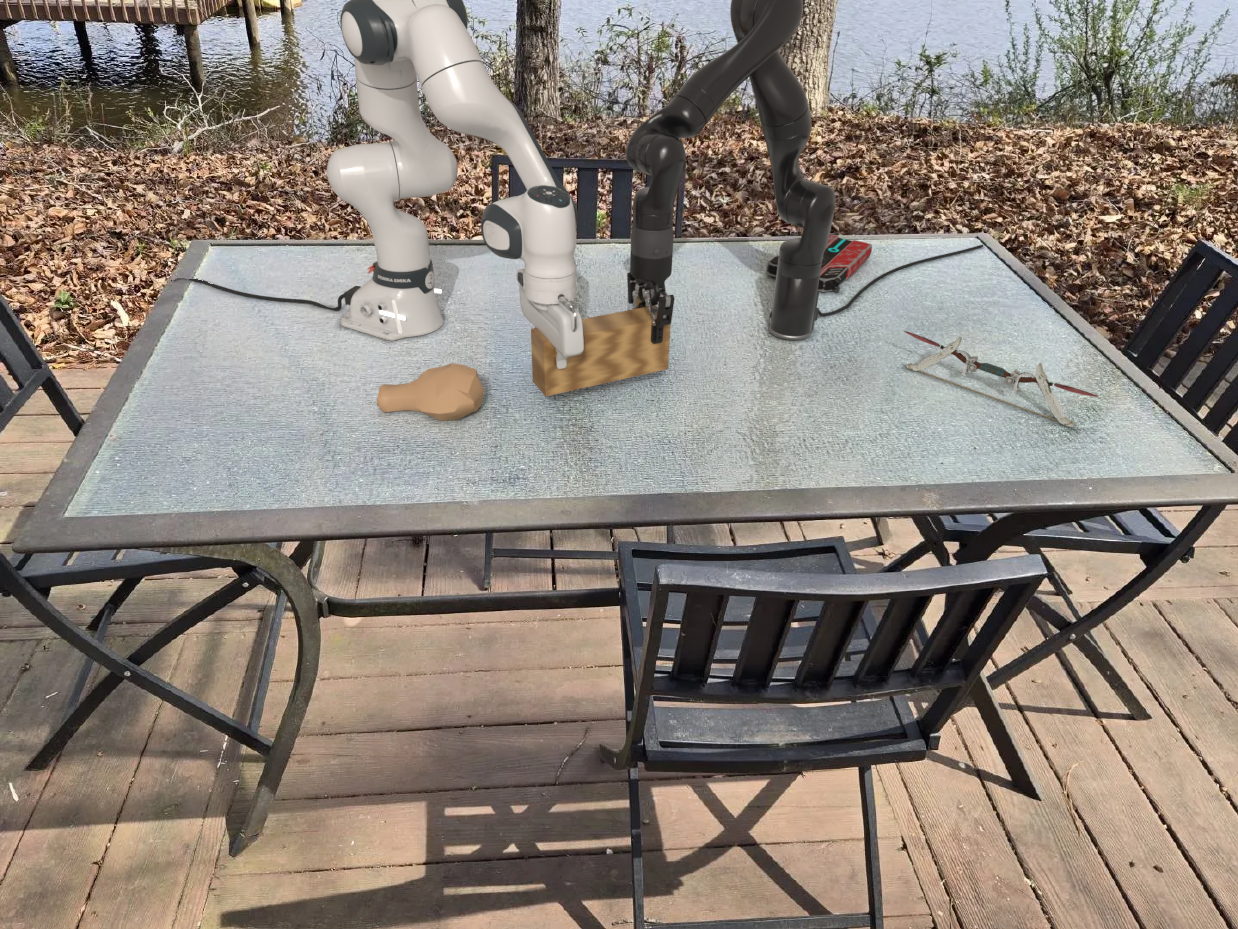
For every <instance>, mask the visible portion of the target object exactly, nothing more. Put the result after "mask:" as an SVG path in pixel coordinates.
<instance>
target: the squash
mask: <svg viewBox="0 0 1238 929" xmlns="http://www.w3.org/2000/svg"><path fill="white" fill-rule="evenodd" d="M484 394H485V388H484V386H483V384H482V382H481V381H480V378H479V373H478V370H477V369H476V368H473V367H470V366H467V365H464V364H459V363H455V362H452V363H449V364H446V365H442V366H439V367H432V368H431V367H430V368H428V369H426V370H424V371H423V372H422V373H421V374H420V375H419V376H418V378H416V379H414V380H412V381H410V382H407V383H399V384H382V385H379V387H378V393H377V397H376V406H377V407H378V408H379V409H380V410H381V411H382V413H389V412H400V411H414V412H419V413H422V414H425V415H426V416H428V417H430V418H433V419H435V420H437V421H440V422H446V421H458V420H459V421H460V420H461V419H463V418H465V417H467V416H469V415H471V414H473V413H475V412H477V411H478V410H479V409H480V408H481V406H482V405H483V400H484Z"/></svg>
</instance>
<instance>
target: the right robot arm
mask: <svg viewBox="0 0 1238 929" xmlns="http://www.w3.org/2000/svg"><path fill="white" fill-rule="evenodd" d="M729 8H730V9H729V12H730V13H729V15H730V24H731V28H732V31H733V34H734V37H735V40H736V44H734V46H732V47H731V48H730V49H728V50H726V51H725V52H724V53H722V54H720V55H719V56H717V57H715V58H714V59H712V60H711V61H709V62H708V63H706V64H704V65H703V66H701V67H699V68H698V69H697V70H696V71H695V72H694V73H693V74H692V75H691V76H690V77H688V79H687V80H686V81H685V82H684V84H683V85H682V86H681V87H680V89H679V90H678V91H677V92H676V93H675V95H674V96H673V97H672V99H671V100H670V102H669V103H668V104H666V105H665V106H664V107H663V108H660V109H659V110H658V111H657V112H655V113H654V114H653V115H651V116H650V117H648V119H646V120H645V121H644V122H643V123H641V124H640V125H639V126H638V127H637V128H636V129H635V130H634V131H633V133H632V134H631V136H630V137H629V139H628V141H627V143H626V148H625V159H626V162H627V164H628V165H629V167H630V168H631V169H632V170H634V171H636V172H638V173H641V174H644V175H647V176H651V180H650V185H649V186H647V187H642V188H639V189H638V190H637V191H635V194H634V197H633V204H632V206H633V207H632V227H631V234H630V253H629V254H630V258H629V272H627V273H626V280H627V283H626V284H627V301H628V302H627V303H628V305H629V304H630V305H631V304H632V306H631V307H632V309H637V308H643V307H646V308H647V312H648V313H649V314H650V317H651V322H652V325H651V342H652V343H653V344H657V343H661V342H662V341H663V328H664V325H669V324H671V325H672V320H673V314H674V305H675V296H674V294H668V293H667V291H666V284H665V283H666V280H668V278H670V277H671V276H672V271H673V254H674V210H675V209H674V208H675V200H676V197H677V196H678V192H679V189H680V185H681V182H682V178H683V175H684V173H685V169H686V166H687V165H686V164H687V153H686V148H685V146H684V144H683V141H682V140H681V139H688V138H689V139H690V138H694V137H696V136H697V135H699V134H700V133H701V132H702V130H704V128H705V127H706V125H707V124H708V123H709V121H710V120H712V118H713V117H714V115H715V114H716V113H717V112H718V110H719V109H720V107H722V105H724V103H725V102H726V100H727V99H728V98H729V97H730V96H731V95H732V94H733V93H734V92H735V91H736V90H737V89H738V88H739V87H740V86H741V85H742V84H743V83H744V82H745V81H746V80H747V79H749V81H750V84H751V88H752V92H753V96H754V99H755V103H756V107H757V113H758V117H759V122H760V125H761V131H762V133H763V137H764V142H765V144H766V149H767V154H768V159H769V163H770V167H771V174H772V183H773V190H774V199H775V205H776V210H777V213H778V215H779V217H780V219H781V220H782V221H783V222H785V223H787V224H789V225H792V226H795V227H799V228H802V232H801V236H800V237H798V238H797V237H796V238H790V239H787V240H785V241H783V242H782V243H781V244H780V247H779V253H778V255H779V259H778V266H777V274H776V277H775V282H774V291H773V298H772V305H771V311H770V313H769V320H770V321H769V326H768V332H769V333H770V334H771V335H772V336H774V337H776V338H778V339H781V340H786V341H802V340H806V339H808V338H810V337H811V335H812V332H813V331H814V328H815V322H816V321H818V317H819V316H820V317H828V316H832V315H836V314H838V313H840V312H842V311H845V310H847V309H848V308H850V307H851V306H852V304H853V303H854V302H855V300H856V299H857V298H859V297H860V296H861V294H863V293H864V292H865V291H866V290H867V289H869V287H871V286H872V285H873V284H875V283H877V282H878V281H879V280H881V279H883V278H885V277H886V276H888V275H891V274H893V273H896V272H897V271H901V270H903V269H906V268H909V267H912V266H915V265H918V264H922V263H926V262H930V261H934V260H938V259H942V258H946V257H950V256H955V255H960V254H964V253H966V252H972V251H974V250H975V251H976V250H978V249H981V248H984V244H979V245H975V246H972V247H969V248H965V249H961V250H957V251H953V252H949V253H944V254H939V255H935V256H932V257H927V258H923V259H919V260H916V261H912V262H909V263H906V264H904V265H903V264H902V265H900V266H897V267H895V268H893V269H891V270H889V271H886V272H885V273H883V274H882V273H881V275H879V276H877V277H876V278H874V279H873V280H871V281H870V282H868V283H867V284H866V285H864V287H863V288H861V289H860V290H859V291H858V292H857V293H856V294H855V295H853V297H852V298H851V299H850V301H849V302H848V303H847V304H845V305H844V306H842V307H840V308H837V309H836V310H833V311H828V312H822V311H821V310H820V308H819V307H818V303H819V296H820V291H818V285H819V278H820V272H821V265H822V259H823V254H824V252H825V249H826V247H827V244H828V240H829V235H830V234H831V230H832V226H833V225H832V224H833V221H834V216H835V211H836V204H837V198H836V193H835V190H834V188H833V187H831V186H829V185H826V184H823V183H819V182H815V181H811V180H808V179H805V178H804V175H803V174H802V170H801V164H800V157H801V156H802V153H803V151H804V149H805V147H806V145H807V143H808V141H809V140H810V137H811V133H812V129H813V128H812V127H813V125H812V115H811V111H810V106H809V101H808V97H807V94H806V92H805V89H804V88H803V86H802V84H801V82H800V81H799V79H798V78H797V77H796V75H795V74H794V72H793V71H792V70H791V68H790V66H789V65H788V63H786V61H785V60H784V58H783V57H782V55H781V53H780V51H779V50H780V49H781V48H783V46H784V45H785V44H786V43H788V41H789V40H790V39H791V38H792V37H793V35H794V34H795V33H796V31H797V30H798V28H799V27H800V23H801V22H802V17H803V14H804V13H803V12H804V11H803V10H804V3H803V0H731V1H730V7H729ZM654 305H656V306H657V307H658V308H652V306H654ZM656 312H658V313H657V319H656V315H655V313H656ZM665 315H666V317H665Z"/></svg>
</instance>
